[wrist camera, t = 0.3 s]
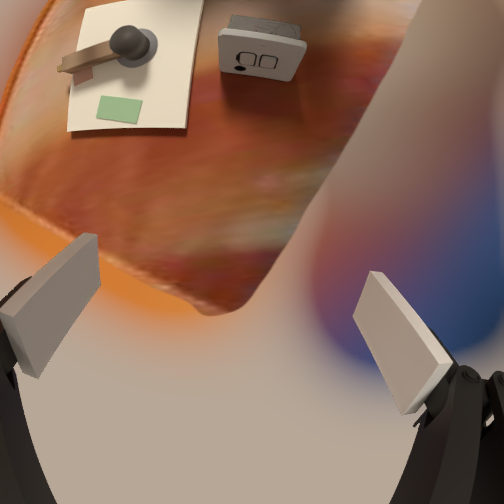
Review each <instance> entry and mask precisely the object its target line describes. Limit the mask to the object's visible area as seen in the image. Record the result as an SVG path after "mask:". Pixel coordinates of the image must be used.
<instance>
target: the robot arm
mask: <svg viewBox="0 0 504 504" xmlns="http://www.w3.org/2000/svg"><path fill="white" fill-rule="evenodd" d="M100 286H101V281H100V271H99V257H98V240H97V234H91V233H83V234H81V235H80V236H79V237H78V238H76V239H75V240H74V241H73V242H71V243H70V244H69V245H68V246H67V247H65V248H64V249H63V250H62V251H61V252H59V253H58V254H57V255H56V256H55V257H54V258H53V259H51V260H50V261H49V262H48V263H47V264H46V265H45V266H43V267H42V268H41V269H40V270H39V271H38V272H37V273H36V274H35V275H34V276H31V277H28V278H26V279H24V280H23V281H21V282H20V283H19V284H18V285H17V286H15V287H14V290H11V291H10V292H9V293H8V295H6V296H5V297H4V298H3V299H2V300H1V301H0V504H57V503H56V501H55V499H54V496H53V494H52V492H51V490H50V488H49V485H48V483H47V481H46V478H45V476H44V473H43V471H42V468H41V466H40V463H39V460H38V457H37V455H36V452H35V449H34V446H33V443H32V440H31V436H30V433H29V429H28V426H27V422H26V418H25V415H24V410H23V406H22V402H21V398H20V393H19V388H18V382H17V377H16V373H15V370H14V368H13V367H14V366H15V364H16V362H17V361H18V363H19V366H20V368H21V370H22V372H23V373H25V374H27V375H30V376H32V377H34V378H37V379H38V378H39V377H40V375H41V373H42V372H43V370H44V368H45V367H46V365H47V363H48V362H49V360H50V359H51V357H52V355H53V354H54V352H55V351H56V349H57V347H58V346H59V344H60V343H61V341H62V340H63V338H64V337H65V335H66V334H67V332H68V330H69V329H70V328H71V326H72V325H73V323H74V322H75V320H76V319H77V318H78V316H79V315H80V313H81V312H82V310H83V309H84V308H85V306H86V305H87V303H88V302H89V301H90V299H91V298H92V296H93V295H94V294H95V292H96V291H97V289H98V288H99V287H100ZM353 318H354V320H355V322H356V324H357V325H358V328H359V329H360V332H361V334H362V335H363V337H364V339H365V341H366V343H367V345H368V347H369V349H370V351H371V353H372V355H373V357H374V359H375V361H376V363H377V365H378V367H379V369H380V371H381V373H382V375H383V377H384V379H385V381H386V384H387V386H388V388H389V390H390V392H391V394H392V396H393V398H394V401H395V403H396V405H397V407H398V409H399V411H400V414H401V415H406V414H411V413H416V412H417V411H418V409H419V408H420V407H421V406H422V405H423V403H425V405H426V407H427V409H426V410H425V412H424V413H423V414H422V415H421V416H420V417H419V419H418V420H417V421H416V422H415V423H414V425H413V427H415V426H416V425H417V424H418V423H420V425H419V428H418V432H417V435H416V438H415V441H414V444H413V447H412V450H411V453H410V456H409V458H408V461H407V464H406V466H405V469H404V471H403V474H402V476H401V479H400V481H399V483H398V486H397V488H396V490H395V493H394V495H393V497H392V499H391V501H390V503H389V504H504V372H501V371H495V372H494V373H493V374H492V376H491V377H490V379H489V380H486V379H481V377H480V375H479V374H478V373H477V372H476V371H475V370H474V369H472V368H471V367H468V366H466V365H462V366H459V365H458V364H457V362H456V361H455V359H454V358H453V357H452V355H451V354H450V352H449V351H448V350H447V348H446V347H445V346H443V343H442V342H441V340H439V338H438V336H437V335H436V334H435V333H434V331H433V330H431V329H430V328H429V327H428V326H427V325H425V324H424V322H423V321H422V320H421V318H420V317H419V316H418V315H417V314H416V312H415V311H414V310H413V308H412V307H411V306H410V305H409V303H408V302H407V301H406V300H405V299H404V297H403V296H402V295H401V294H400V293H399V291H398V290H397V289H396V288H395V287H394V285H393V284H392V283H391V282H390V281H389V280H388V278H387V277H386V276H385V275H384V274H383V273H382V272H374V271H370V272H369V275H368V277H367V280H366V283H365V286H364V288H363V291H362V294H361V296H360V299H359V301H358V304H357V307H356V309H355V312H354V314H353ZM492 415H494V420H493V422H492V423H491V424H490V425H489V426H486V421H487V420H488V419H489V418H490V417H491V416H492Z"/></svg>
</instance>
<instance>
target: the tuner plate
mask: <svg viewBox="0 0 504 504" xmlns="http://www.w3.org/2000/svg"><path fill="white" fill-rule="evenodd" d="M204 1H205V0H127V1H121V2H115V3H110V4H105V5H101V6H96V7H92V8H88V9H86V11H85V15H84V18H83V22H82V27H81V31H80V35H79V40H78V45H77V50H76V52H77V51H80V50H82V49H85V48H87V47H90V46H93V45H96V44H99V43H102V42H105V41H108V40H110V38H111V36H112V34H113V33H114V32H115V31H116V30H117V29H118V28H120V27H122V26H125V25H132V26H135V27H136V28H137V29H138V30H140V31H141V32H142V33H143V34H144V35H145V36H146V37H147V38H148V39H149V41H150V48H149V50H148V52H147V53H146V55H145V56H143V57H142V58H140V59H138V60H135V61H130V60H127V59H125V58H124V57H122V58H118V59H115V60H111V61H108V62H105V63H102V64H99V65H96V66H93V67H90V68H87V69H84V70H81V71H78V72H76V73H73V74H72V81H71V89H70V99H69V110H68V124H67V132H68V131H79V130H92V129H109V128H187V117H188V108H189V98H190V90H191V82H192V74H193V66H194V59H195V53H196V46H197V40H198V34H199V28H200V22H201V16H202V11H203V6H204Z"/></svg>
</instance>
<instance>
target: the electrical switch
mask: <svg viewBox="0 0 504 504" xmlns="http://www.w3.org/2000/svg"><path fill="white" fill-rule="evenodd" d="M286 25H287V26H286ZM255 27H257V29H256V30H255ZM276 28H277V29H276ZM300 29H301V27H300V26H299V25H295V24H290V23H285V22H280V21H274V20H268V19H262V18H255V17H247V16H238V15H232V17H231V19H230V23H229V25H228V28H227V29H226V28H223V29H221V30H219V34H218V48H219V70H220V71H222V72H227V73H236V74H243V75H251V76H257V77H264V78H270V79H275V80H281V81H287V82H288V81H291V79H292V78H293V76H294V74H295V72H296V70H297V68H298V66H299V64H300V62H301V60H302V58H303V56H304V54H305V52H306V49H307V44H306V42H305V41H301V40H300V39H301V35H300ZM272 30H273V31H272ZM294 30H295V31H294ZM257 31H258V32H257ZM277 34H278V35H279V36H278V35H277ZM292 38H293V39H292Z"/></svg>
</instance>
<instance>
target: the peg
mask: <svg viewBox="0 0 504 504" xmlns="http://www.w3.org/2000/svg"><path fill="white" fill-rule="evenodd" d="M149 48H150V41H149V39H148V38H147V37H146V36H145V35H144V34H143V33H142V32H141V31H140V30H138V29H137V28H136V27H135V26H132V25H125V26H122V27H120V28H118V29H117V30H116V31H115V32H114V33H113V34H112V36H111V38H110V40H108V41H105V42H102V43H99V44H96V45H93V46H90V47H87V48H85V49H82V50H80V51H77V52H74V53H72V54H70V55H67V56H65V57H62V65H59V66H57V72H59V73H60V72H66V73H71V74H73V73H76V72H78V71H81V70H84V69H87V68H90V67H93V66H96V65H99V64H102V63H105V62H108V61H111V60H115V59H118V58H122V57H124V58H125V59H127V60H130V61H135V60H138V59H140V58H142V57H143V56H145V55H146V53H147V52H148V50H149Z"/></svg>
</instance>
